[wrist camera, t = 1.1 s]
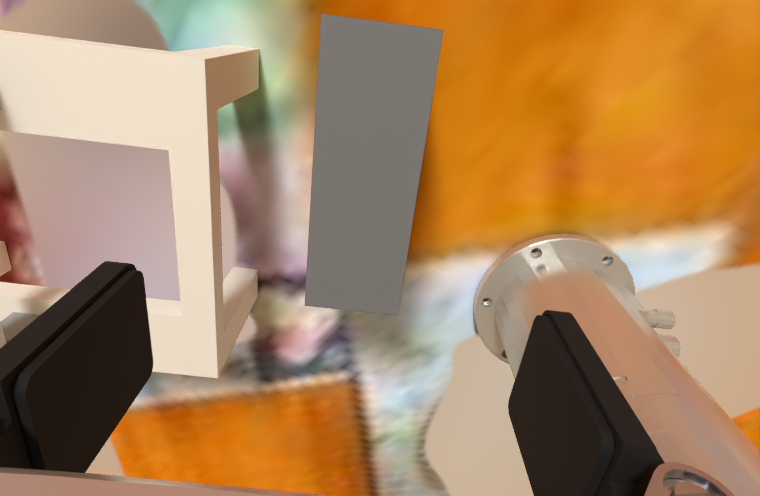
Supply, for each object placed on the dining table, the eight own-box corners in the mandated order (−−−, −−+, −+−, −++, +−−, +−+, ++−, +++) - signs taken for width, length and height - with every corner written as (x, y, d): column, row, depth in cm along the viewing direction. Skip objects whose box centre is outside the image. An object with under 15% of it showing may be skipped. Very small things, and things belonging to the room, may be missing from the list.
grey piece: (345, 17, 30) (321, 13, 19) (423, 27, 30) (443, 30, 19) (330, 220, 36) (304, 305, 25) (395, 227, 36) (397, 315, 25)
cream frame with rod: (259, 48, 31) (166, 66, 18) (257, 295, 39) (193, 428, 26) (-87, 4, 30) (-440, -10, 17) (-14, 266, 38) (-216, 388, 25)
